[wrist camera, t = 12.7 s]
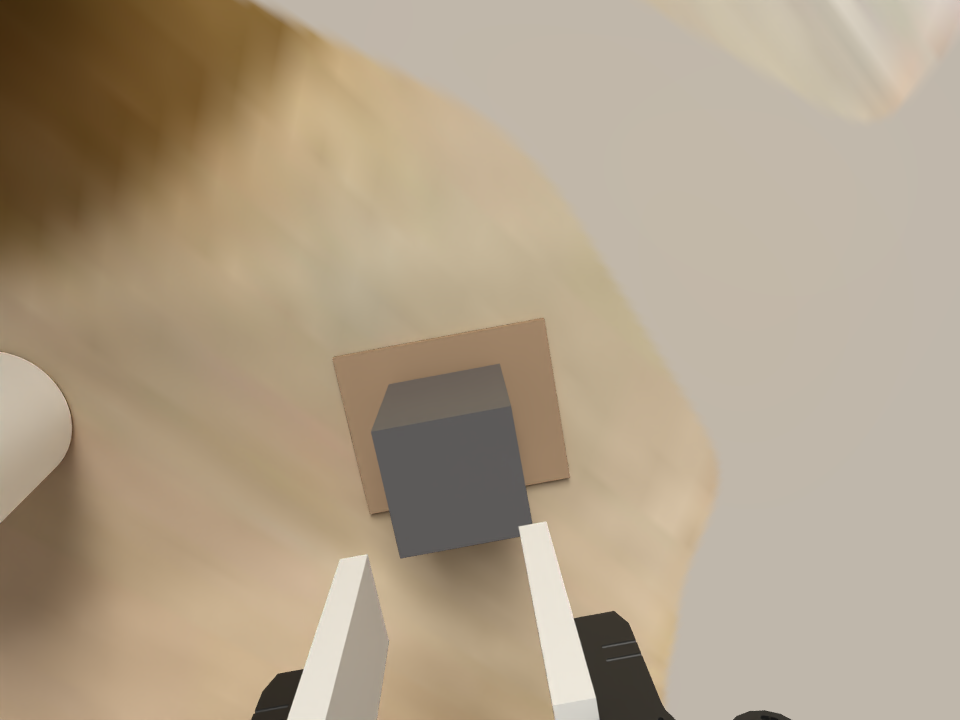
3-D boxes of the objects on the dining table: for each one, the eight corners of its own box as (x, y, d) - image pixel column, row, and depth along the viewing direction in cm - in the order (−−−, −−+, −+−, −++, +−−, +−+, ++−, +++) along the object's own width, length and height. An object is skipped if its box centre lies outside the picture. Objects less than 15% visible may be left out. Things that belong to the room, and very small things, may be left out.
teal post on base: (370, 510, 33) (348, 589, 26) (333, 356, 31) (299, 399, 25) (568, 474, 33) (597, 544, 26) (543, 317, 31) (567, 349, 24)
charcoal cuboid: (411, 487, 32) (400, 558, 26) (388, 384, 31) (370, 431, 24) (518, 467, 32) (534, 533, 25) (499, 363, 31) (511, 405, 24)
